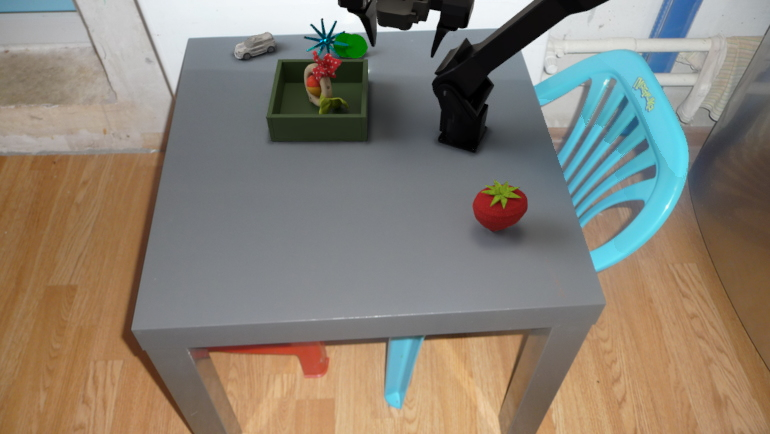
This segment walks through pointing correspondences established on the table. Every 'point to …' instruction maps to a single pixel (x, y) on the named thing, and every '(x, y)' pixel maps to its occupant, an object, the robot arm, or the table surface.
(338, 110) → the bin
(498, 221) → the strawberry
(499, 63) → the robot arm
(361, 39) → the stick construction toy
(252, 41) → the toy car
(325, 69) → the bird rattle
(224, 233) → the table surface
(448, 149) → the table surface
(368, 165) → the table surface
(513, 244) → the table surface
